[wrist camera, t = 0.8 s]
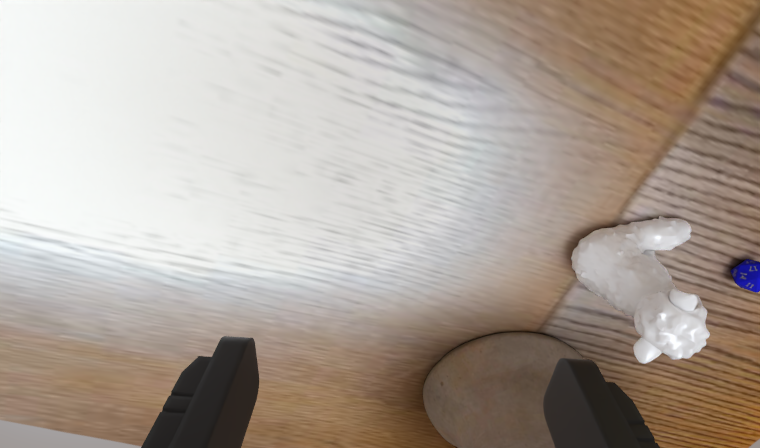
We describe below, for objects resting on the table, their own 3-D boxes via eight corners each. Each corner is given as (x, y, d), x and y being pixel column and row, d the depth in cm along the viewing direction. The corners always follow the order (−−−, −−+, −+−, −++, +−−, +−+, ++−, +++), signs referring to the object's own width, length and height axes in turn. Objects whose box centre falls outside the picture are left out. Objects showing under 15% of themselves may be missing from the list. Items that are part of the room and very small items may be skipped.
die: (725, 282, 38) (732, 289, 36) (731, 255, 38) (739, 260, 35) (763, 290, 37) (774, 297, 34) (770, 261, 37) (782, 267, 34)
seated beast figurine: (628, 302, 39) (715, 413, 29) (543, 285, 39) (601, 394, 28) (685, 216, 35) (813, 312, 24) (590, 195, 34) (680, 285, 24)
